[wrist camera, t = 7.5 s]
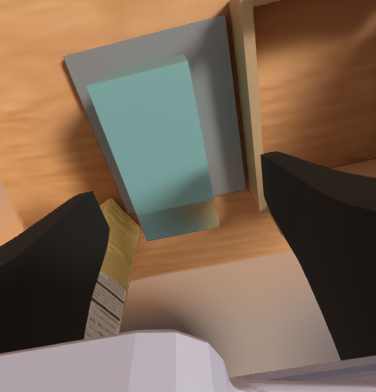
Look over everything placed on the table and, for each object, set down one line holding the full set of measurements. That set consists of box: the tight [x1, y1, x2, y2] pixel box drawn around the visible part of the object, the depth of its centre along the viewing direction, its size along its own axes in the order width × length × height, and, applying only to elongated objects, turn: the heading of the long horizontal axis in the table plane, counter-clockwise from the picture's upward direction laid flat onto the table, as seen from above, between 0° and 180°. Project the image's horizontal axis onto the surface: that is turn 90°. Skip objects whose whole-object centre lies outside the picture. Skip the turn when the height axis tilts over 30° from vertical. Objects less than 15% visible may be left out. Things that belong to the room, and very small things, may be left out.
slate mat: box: [63, 15, 246, 214], centre depth 19 cm, size 10×12×1 cm
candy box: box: [84, 198, 140, 339], centre depth 17 cm, size 9×4×15 cm, turn 124°
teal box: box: [86, 54, 220, 241], centre depth 16 cm, size 4×9×6 cm, turn 12°
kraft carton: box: [229, 0, 376, 235], centre depth 16 cm, size 12×13×6 cm
